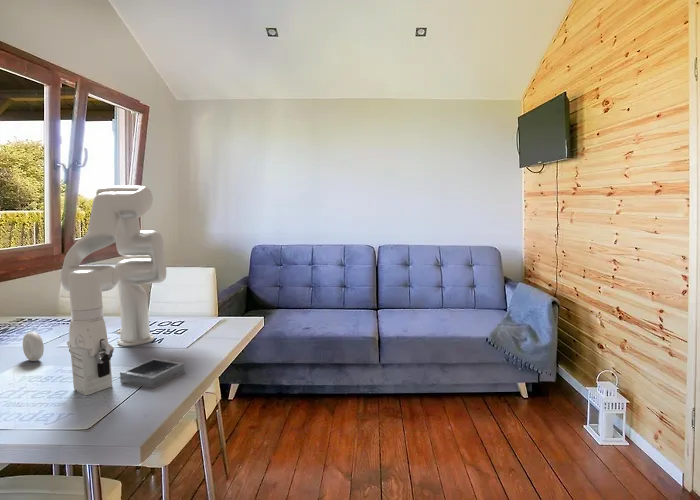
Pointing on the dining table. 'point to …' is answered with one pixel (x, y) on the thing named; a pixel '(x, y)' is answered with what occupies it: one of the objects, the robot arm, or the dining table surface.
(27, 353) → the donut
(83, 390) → the supplement box
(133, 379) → the locating frame
